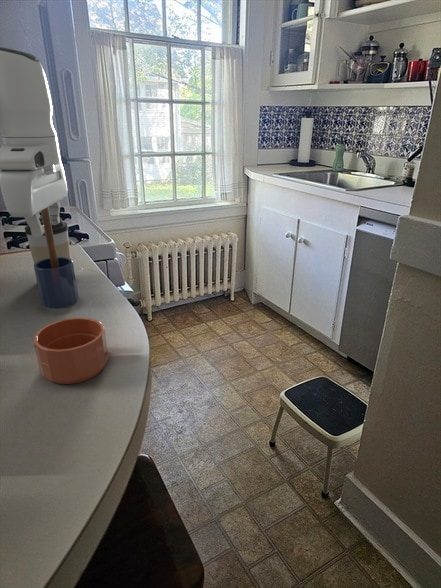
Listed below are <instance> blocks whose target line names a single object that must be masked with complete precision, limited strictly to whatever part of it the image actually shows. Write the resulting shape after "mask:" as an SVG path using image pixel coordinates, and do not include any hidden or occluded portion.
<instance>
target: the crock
mask: <svg viewBox="0 0 441 588" xmlns="http://www.w3.org/2000/svg"><path fill="white" fill-rule="evenodd" d="M57 259H58V264H59V267H57V268H51V263H50V258H47V259H43V260H40V261H38V262H36V263H35V264H34V263H33V268H34V274H35V279H36V283H37V288H38V293H39V297H40V298H39V299H40V303H41V306H42V307H44V308H46V309H52V310H53V309H55V310H56V309H64V308H67V307H70V306H73V305H75V304H76V303H78V301H79V291H78V286H77V279H76V274H75V268H74V262H73V259H72V258H71V259H70V258H65V257H57Z"/></svg>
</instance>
